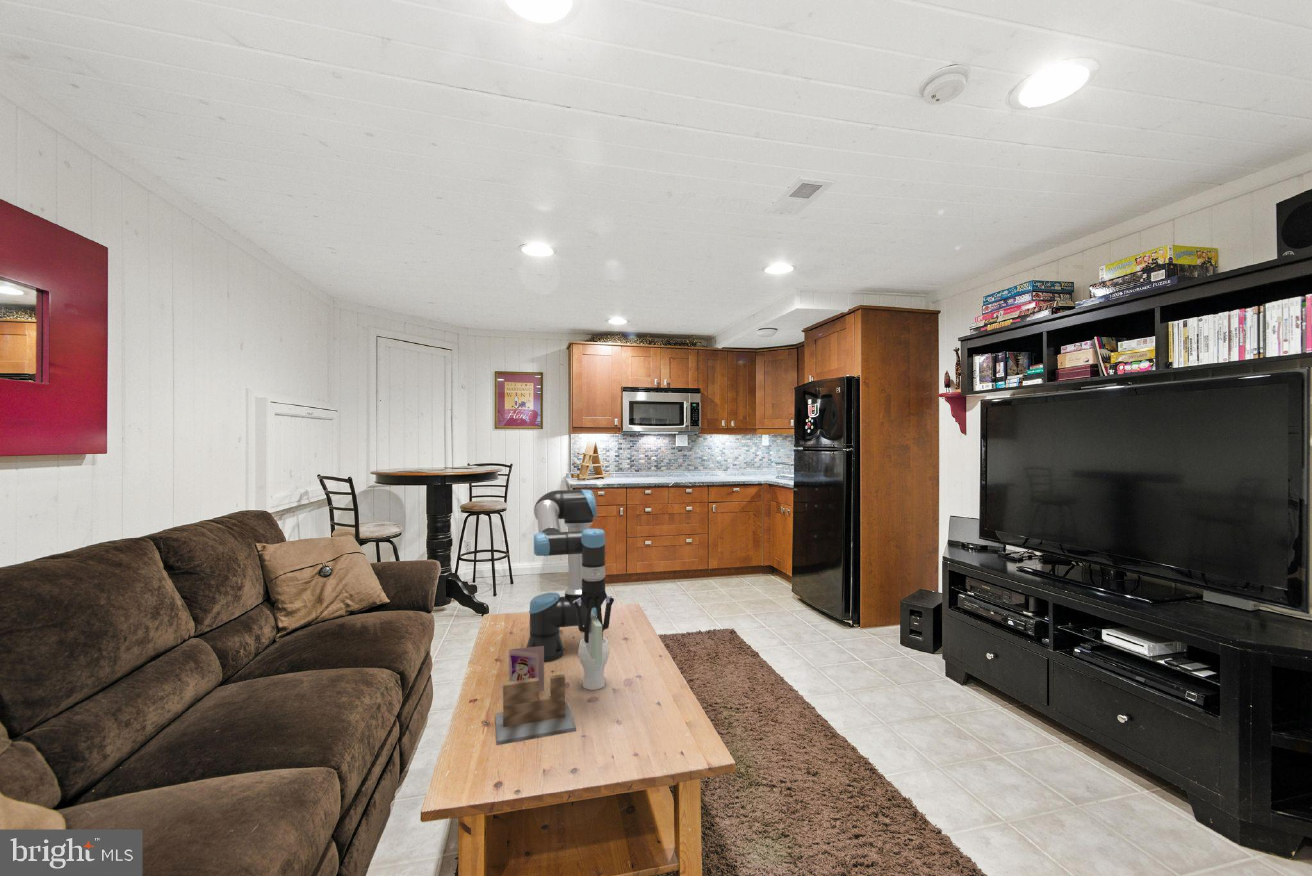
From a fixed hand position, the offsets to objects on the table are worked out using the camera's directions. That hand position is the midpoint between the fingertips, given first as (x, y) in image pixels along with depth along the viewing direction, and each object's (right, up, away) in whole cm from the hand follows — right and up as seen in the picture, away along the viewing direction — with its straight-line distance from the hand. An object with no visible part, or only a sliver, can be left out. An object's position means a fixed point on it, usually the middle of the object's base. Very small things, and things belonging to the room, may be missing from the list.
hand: (593, 651), depth 169 cm
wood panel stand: (-16, -17, -11) cm, 26 cm away
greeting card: (-23, -17, +8) cm, 30 cm away
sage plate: (0, -1, -1) cm, 1 cm away
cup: (-2, -17, +14) cm, 22 cm away
